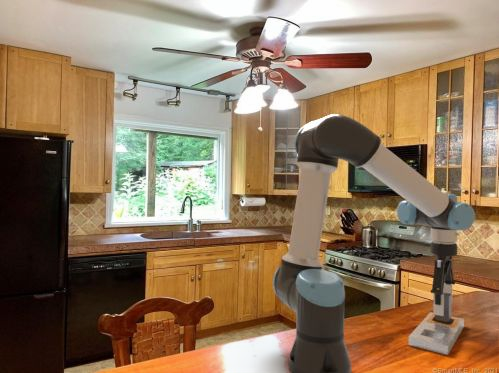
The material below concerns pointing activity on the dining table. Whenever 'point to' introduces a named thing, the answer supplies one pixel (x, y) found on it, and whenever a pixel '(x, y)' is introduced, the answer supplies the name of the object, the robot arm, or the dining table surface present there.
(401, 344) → the dining table surface
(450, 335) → the grey peg hole board
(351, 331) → the dining table surface
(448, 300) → the steel peg
